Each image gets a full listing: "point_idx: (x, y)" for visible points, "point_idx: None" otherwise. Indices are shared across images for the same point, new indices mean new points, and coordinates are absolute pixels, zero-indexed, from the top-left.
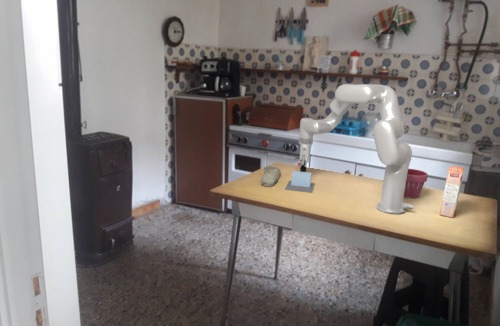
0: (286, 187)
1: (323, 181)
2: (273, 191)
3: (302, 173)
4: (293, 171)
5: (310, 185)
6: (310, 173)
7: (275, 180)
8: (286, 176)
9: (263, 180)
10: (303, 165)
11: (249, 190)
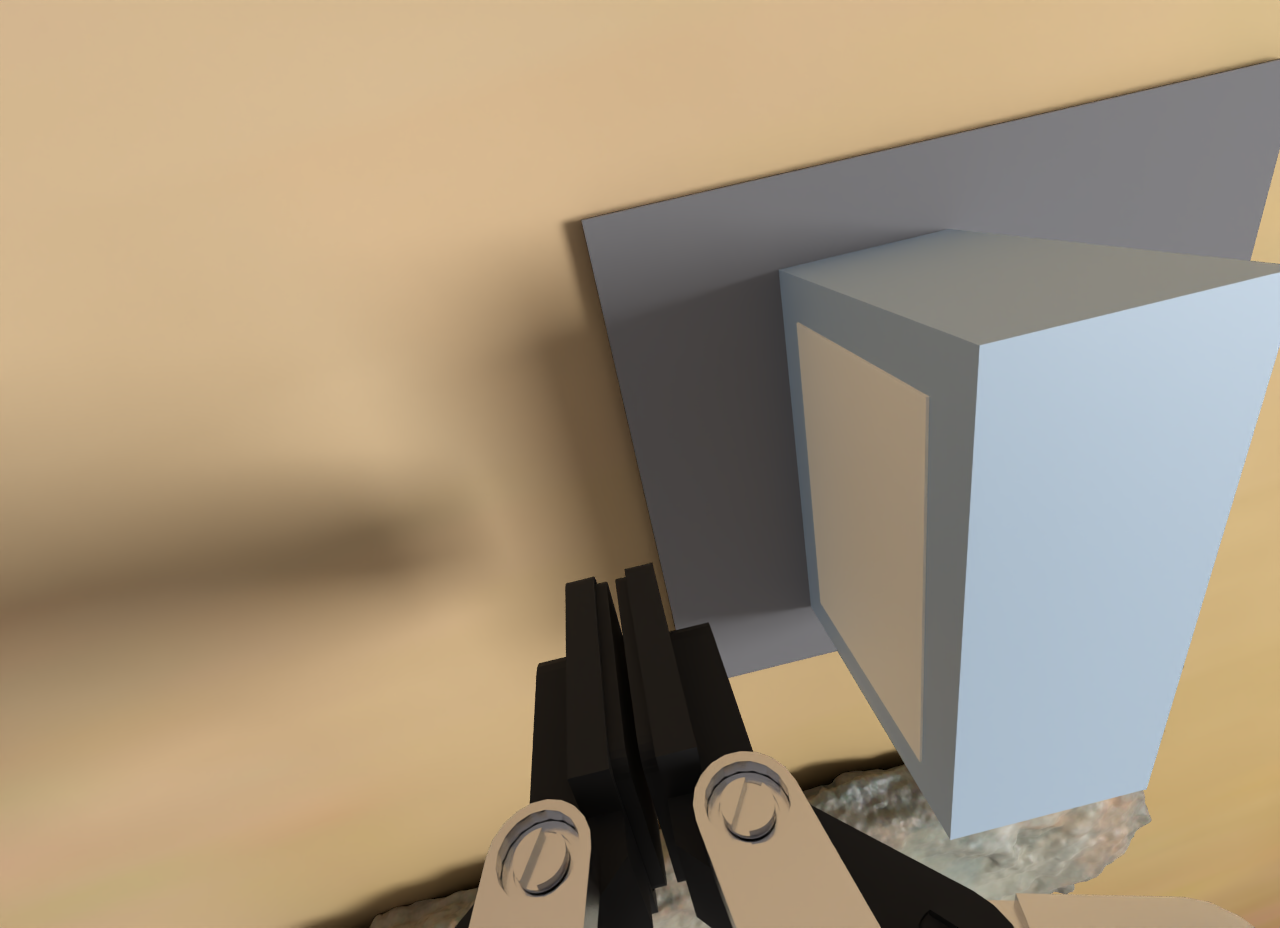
0: None
1: (76, 65)
2: (1274, 632)
3: (1188, 575)
4: (1025, 809)
5: (795, 264)
6: (1114, 350)
7: None
8: (424, 809)
9: (1099, 871)
10: (897, 898)
11: (1267, 803)
